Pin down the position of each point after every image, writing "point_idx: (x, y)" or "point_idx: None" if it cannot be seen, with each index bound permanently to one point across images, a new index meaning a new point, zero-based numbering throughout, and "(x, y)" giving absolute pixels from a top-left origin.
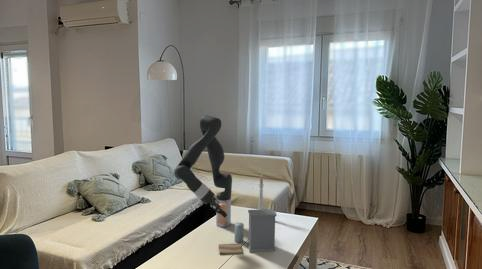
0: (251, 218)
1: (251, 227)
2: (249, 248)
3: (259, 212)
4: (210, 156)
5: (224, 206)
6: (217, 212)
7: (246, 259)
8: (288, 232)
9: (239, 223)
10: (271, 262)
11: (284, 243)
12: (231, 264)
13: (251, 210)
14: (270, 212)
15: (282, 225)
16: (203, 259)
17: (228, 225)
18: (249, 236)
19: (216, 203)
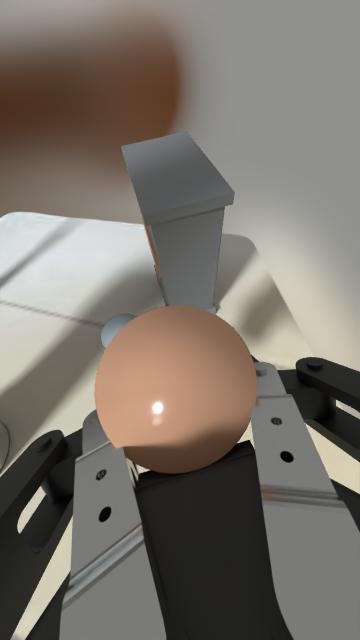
0: (223, 211)
1: (217, 251)
2: (208, 311)
3: (175, 171)
4: None
5: (230, 333)
6: (356, 422)
7: (261, 315)
8: (82, 246)
9: (111, 333)
10: (253, 261)
11: (146, 248)
12: (311, 351)
13: (150, 201)
14: (166, 145)
15: (36, 261)
16: (331, 472)
17: (1, 426)
18: (187, 297)
19: (336, 503)
